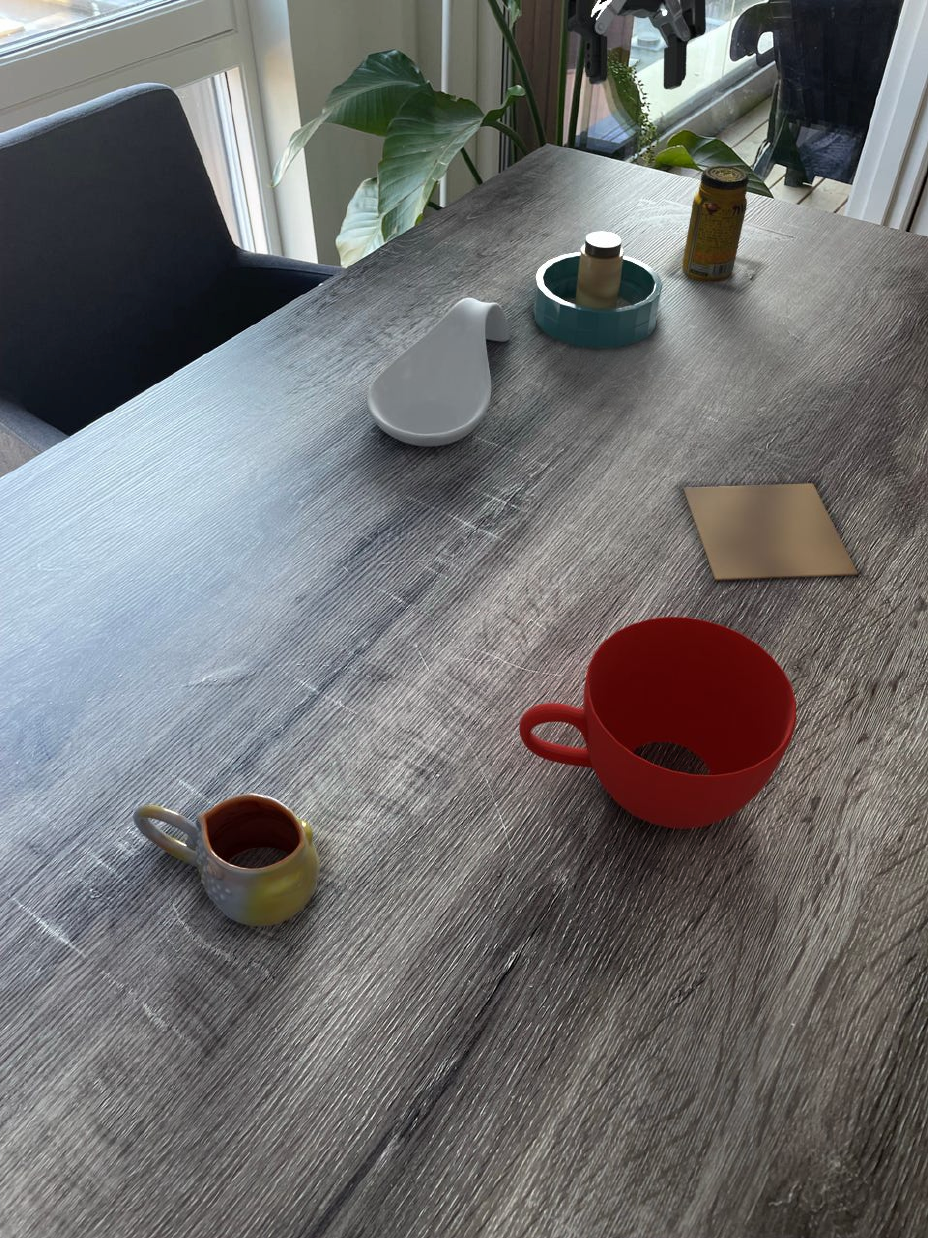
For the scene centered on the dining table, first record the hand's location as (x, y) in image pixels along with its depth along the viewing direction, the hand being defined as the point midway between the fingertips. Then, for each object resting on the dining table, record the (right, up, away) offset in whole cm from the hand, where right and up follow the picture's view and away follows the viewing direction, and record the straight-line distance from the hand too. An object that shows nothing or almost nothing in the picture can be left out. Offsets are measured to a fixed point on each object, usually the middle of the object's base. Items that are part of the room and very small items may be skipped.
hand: (636, 85), depth 97 cm
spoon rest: (-18, -29, +5) cm, 35 cm away
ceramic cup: (-5, -63, -28) cm, 69 cm away
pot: (-2, -18, +15) cm, 24 cm away
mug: (-31, -68, -33) cm, 82 cm away
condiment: (+13, -11, +23) cm, 29 cm away
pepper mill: (-2, -18, +15) cm, 23 cm away
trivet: (+9, -45, -10) cm, 47 cm away
